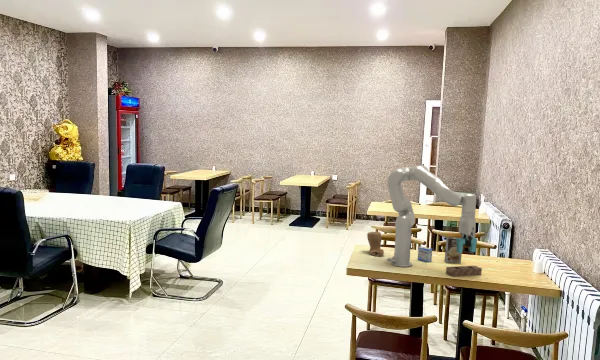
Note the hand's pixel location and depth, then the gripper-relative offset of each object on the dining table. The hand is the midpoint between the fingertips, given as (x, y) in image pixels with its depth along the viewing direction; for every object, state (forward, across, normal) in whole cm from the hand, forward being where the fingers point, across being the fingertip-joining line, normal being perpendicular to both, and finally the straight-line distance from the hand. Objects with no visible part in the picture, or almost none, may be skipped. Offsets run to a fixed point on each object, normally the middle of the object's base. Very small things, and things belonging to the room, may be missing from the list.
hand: (466, 245), depth 271 cm
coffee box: (+17, -25, +10) cm, 32 cm away
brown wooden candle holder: (+17, 0, 0) cm, 17 cm away
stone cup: (+17, -52, -32) cm, 64 cm away
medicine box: (+17, -31, -7) cm, 37 cm away
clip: (+4, 0, 0) cm, 4 cm away
